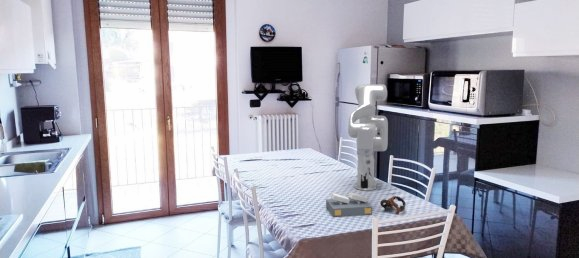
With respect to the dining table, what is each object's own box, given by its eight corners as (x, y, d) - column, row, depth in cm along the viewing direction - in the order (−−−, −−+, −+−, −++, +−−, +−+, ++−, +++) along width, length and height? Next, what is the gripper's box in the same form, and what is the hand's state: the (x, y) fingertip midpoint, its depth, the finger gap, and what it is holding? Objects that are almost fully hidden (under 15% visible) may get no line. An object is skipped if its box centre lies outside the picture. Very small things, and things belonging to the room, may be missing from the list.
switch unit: (362, 204, 200) (362, 195, 199) (372, 214, 186) (372, 204, 185) (326, 206, 197) (326, 197, 196) (333, 217, 183) (333, 206, 182)
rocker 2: (363, 199, 194) (364, 195, 194) (366, 202, 190) (367, 198, 190) (348, 195, 193) (349, 192, 193) (351, 198, 189) (352, 194, 188)
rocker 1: (345, 200, 193) (347, 196, 193) (348, 203, 189) (349, 199, 189) (330, 196, 192) (332, 192, 191) (333, 199, 187) (334, 195, 187)
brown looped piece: (396, 207, 197) (404, 195, 193) (402, 221, 190) (410, 209, 185) (375, 203, 195) (382, 191, 190) (379, 217, 187) (387, 205, 183)
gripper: (378, 154, 182) (377, 192, 185) (367, 147, 197) (366, 182, 200) (362, 155, 181) (361, 193, 184) (352, 148, 196) (352, 183, 199)
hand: (364, 187), depth 192 cm, fingers closed
